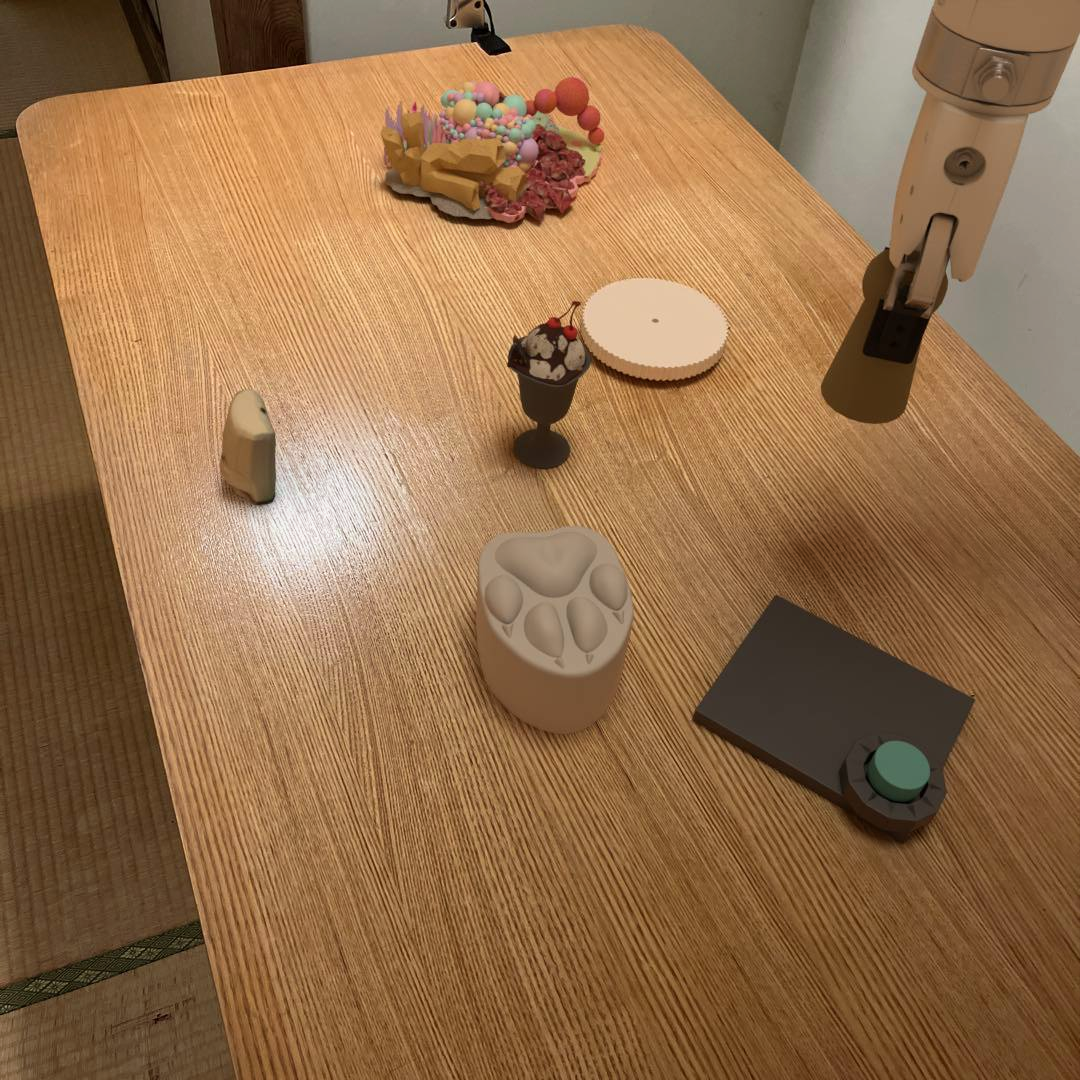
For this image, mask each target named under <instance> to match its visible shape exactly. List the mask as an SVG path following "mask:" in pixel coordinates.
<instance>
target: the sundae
mask: <svg viewBox="0 0 1080 1080" xmlns="http://www.w3.org/2000/svg"><path fill="white" fill-rule="evenodd" d="M581 305H582V302H581V301H577V300H574V301H572V302H571V305H570V306H569V308H568V310H567V311H566V312H565V313H563V314H562V315H561V316H560V317H556V316H551V317H550V318H549V319H548V320H547V321H546V322H545V323H540V324H538V325H536V326H535V327H534V328H533V329H531V330H530V331H528V333H527V335H524V336H522V337H519V338H518V337H517V335H516V334H515V335H513V337H512V344H511V345H510V348H509V351H508V355H507V363H506V366H507V368H509V369H510V370H511V371H512V372H514V373H516V374H517V378H518V389H519V398H520V403H521V408H522V411H523V413H524V415H525V416H526V417H528V419H530V420H532V421H533V422H535V423H536V428H530V429H528V430H525V431H524V432H522V433H520V434H519V435H518V436H517V437H516V439H514V443H513V447H512V448H513V452H514V454H515V457H517V459H519V461H521V462H522V463H523V464H525V465H527V466H529V467H532V468H535V469H536V468H537V469H551V468H555V467H558V466H560V465H562V464H563V463H564V462H566V461H567V459H568V458H569V456H570V454H571V446H570V443H569V441H568V439H567V438H566V437H565V436H564V435H562V434H561V433H559V432H557V431H554V430H552V429H551V426H552V425H553V424H555V423H557V422H560V421H561V420H563V419H564V418H565V417H566V416H567V414H568V413H569V410H570V408H571V406H572V403H573V400H574V397H575V392H576V389H577V385H578V382H579V379H580V378H582V377H583V376H584V375H585V374H586V372H587V371H588V370H589V369H590V367H591V365H592V359H591V355H590V353H589V352H588V349H587V347H585V346H584V344H583V343H582V341H581V340H580V338H579V337H578V334H579V331H578V329H577V327H575V326H574V325H573V316H574V314H575V311H576V309H577V307H579V306H581ZM573 307H574V308H573ZM572 308H573V310H572V312H571V315H570V319H569V324H567V325H565V326H562V321H561V319H562V318H564V317H565V316H567V315H568V313H569V312H570V311H571V309H572Z"/></svg>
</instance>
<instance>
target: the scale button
mask: <svg viewBox="0 0 1080 1080" xmlns="http://www.w3.org/2000/svg"><path fill="white" fill-rule="evenodd" d="M867 773H868V778H869V781H870V783H871V785H872V786H873V788H874V789H875V790H876V791H877V792H878V793H879V794H880V795H882V796H883V797H885V798H887V799H889V800H892V801H897V802H906V801H910V800H912V799H914V798H915V797H917V796H918V795H919V793H920V792H921V790H922V789H923V787H924V786H925V784H926V783H927V781H928V779H929V777H930V767H929V763H928V761H927V759H926V757H925V756H924V755H923V753H922V752H921V751H920V750H919V749H917V748H916V747H914V746H913V745H911V744H909V743H906V742H902V741H889V742H886V743H884V744H882V745H881V746H880V747H879V748H878V749H877V750H876V752H875V754H874V756H873V757H872V759H871V761H870V763H869V765H868V769H867Z"/></svg>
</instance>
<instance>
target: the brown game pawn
mask: <svg viewBox="0 0 1080 1080" xmlns="http://www.w3.org/2000/svg"><path fill="white" fill-rule="evenodd" d="M889 253H890V249H887V250H884V249H883V250H882V251H881V252H880V253H878V254H877V255H876V256H875V257H873V258H872V259H871V260H870V261H869V263H868V265H867V266H866V269H865V271H864V274H863V277H862V282H861V283H862V284H861V291H862V297H863V298H864V300H863V301H862V303H861V305H860V307H859V309H858V310H857V313H856V314H855V317H854V318H853V321H852V322H851V324H850V327H849V329H848V330H847V332H846V334H845V336H844V338H843V340H842V342H841V344H840V346H839V348H838V350H837V352H836V354H835V355H834V357H833V359H832V361H831V363H830V365H829V367H828V368H827V371H826V373H825V375H824V377H823V379H822V382H821V384H820V394H821V397H822V398H823V399H824V401H825V403H826V405H828V406H829V407H830V408H831V409H832V410H833V411H834V412H835V413H837V414H839V415H840V416H843V417H844V418H846V419H848V420H851V421H855V422H858V423H862V424H872V425H879V424H880V425H881V424H887V423H891V422H894V421H895V420H898V419H899V418H900V417H901V416H902V415H903V414H904V413H906V409H907V404H908V402H909V397H910V394H911V388H912V385H913V380H914V375H915V372H916V367H917V364H918V359H919V356H920V355H919V354H920V351H921V346H922V341H923V337H924V336H923V337H922V340H921V342H920V345H919V347H918V350H917V352H916V355H915V357H914V360H913V362H912V363H910V364H902V363H897V362H892V361H888V360H883V359H878V358H874V357H869V356H866V355H864V354H863V345H864V342H865V339H866V336H867V334H868V331H869V328H870V325H871V322H872V320H873V317H874V314H875V311H876V308H877V306H878V303H879V300H880V299H883V300H885V298H886V294H887V291H888V288H889V285H890V282H891V278H892V275H893V272H894V269H895V267H894V265H893V264H892V262H891V261H890V259H889ZM919 256H920V252H915V251H913V252H912V253H911V254H910V255H908V256H907V258H912V259H917V260H919ZM914 275H915V274H914V273H909V272H905V274H904V277H903V280H902V283H901V286H900V289H901V288H902V287H903V286H904V285H908V286H910V284H911V283H912V281H913V278H914ZM948 287H949V277H948V275H947V270H946V271H945V275H944V277H943V280H942V283H941V286H940V289H939V291H938V294H937V297H936V300H935V303H934V306H933V309H932V315H933V314H934V313H935V312H936V311H938V309H939V308H940V306H941V305H943V301H944V299H945V297H946V294H947V291H948V289H949V288H948Z"/></svg>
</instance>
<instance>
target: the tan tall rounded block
mask: <svg viewBox="0 0 1080 1080" xmlns="http://www.w3.org/2000/svg"><path fill="white" fill-rule="evenodd" d="M268 413H269V412H268V410H267V407H266V405H265V401H264V399H263V397H262V396H261V394H259V392H257V391H256V390H254V389H249V388H246V389H241V390H239V391H237V392H236V393H235V394H234V395H233V397H232V398H231V401H230V403H229V406H228V411H227V415H226V418H225V419H226V420H225V423H224V427H223V430H222V445H221V454H220V460H219V471H220V474H221V476H222V478H223V479H224V480H225V481H226V483H228V484H229V485H230V486H232V488H233V489H232V490H233V492H234V493H235V494H236V495H237V496H239V497H242V498H245V499H247V500H248V501H249V502H250V503H252V504H254V505H256V506H259V505H267V504H270V503H273V502H274V500H275V498H276V484H277V469H276V468H277V467H276V463H277V462H276V447H277V437H276V432H275V430H274V428H273V426H272V425H273V424H272V422H271V419H270V417H269V414H268Z"/></svg>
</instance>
